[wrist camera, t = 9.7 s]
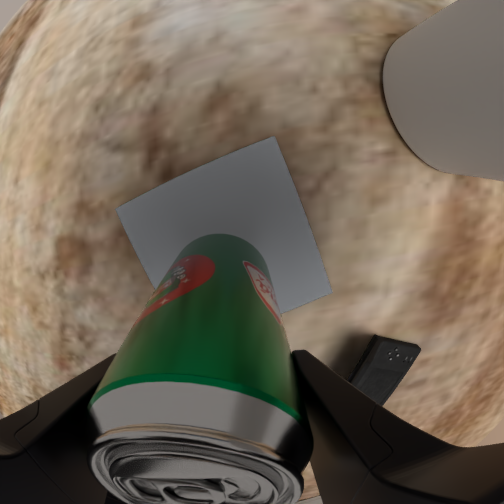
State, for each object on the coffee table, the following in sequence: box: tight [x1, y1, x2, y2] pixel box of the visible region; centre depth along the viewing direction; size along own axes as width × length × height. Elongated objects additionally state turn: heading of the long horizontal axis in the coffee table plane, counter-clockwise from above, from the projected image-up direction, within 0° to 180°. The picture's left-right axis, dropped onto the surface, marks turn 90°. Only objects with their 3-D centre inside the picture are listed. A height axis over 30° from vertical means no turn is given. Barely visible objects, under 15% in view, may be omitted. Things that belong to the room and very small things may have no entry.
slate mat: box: [115, 136, 333, 314], centre depth 20 cm, size 12×12×1 cm
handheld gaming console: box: [347, 335, 421, 406], centre depth 23 cm, size 12×7×10 cm
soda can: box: [86, 234, 314, 504], centre depth 10 cm, size 5×5×12 cm
